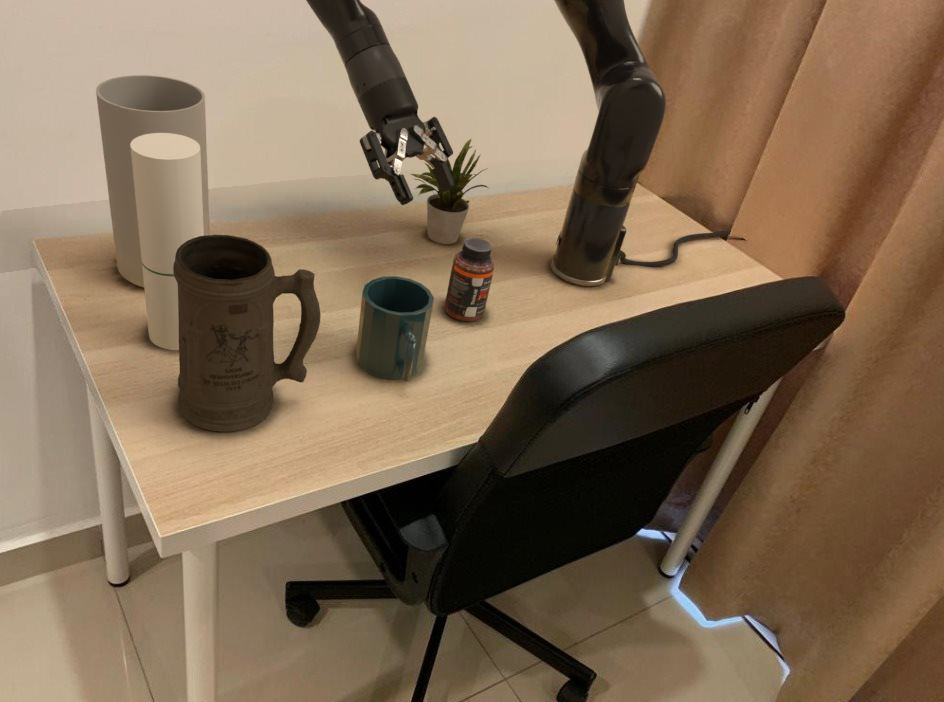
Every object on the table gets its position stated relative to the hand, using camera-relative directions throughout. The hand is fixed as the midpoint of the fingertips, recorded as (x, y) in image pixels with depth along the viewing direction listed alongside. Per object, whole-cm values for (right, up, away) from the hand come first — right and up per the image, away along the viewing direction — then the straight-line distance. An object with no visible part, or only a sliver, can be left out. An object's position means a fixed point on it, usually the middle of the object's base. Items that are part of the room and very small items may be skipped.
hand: (428, 196), depth 109 cm
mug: (-4, -24, -9) cm, 26 cm away
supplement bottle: (+5, -16, +4) cm, 18 cm away
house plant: (+2, -1, +23) cm, 23 cm away
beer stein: (-21, -29, -18) cm, 40 cm away
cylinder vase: (-38, -10, 0) cm, 39 cm away
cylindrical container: (-32, -20, -11) cm, 39 cm away
